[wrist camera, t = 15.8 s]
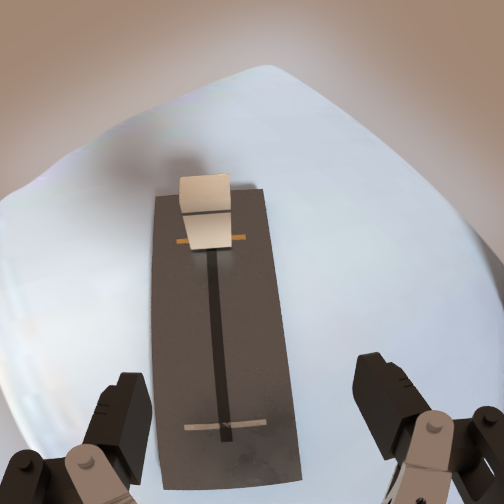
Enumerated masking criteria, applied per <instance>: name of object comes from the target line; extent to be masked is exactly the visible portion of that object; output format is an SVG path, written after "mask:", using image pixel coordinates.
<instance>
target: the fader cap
mask: <svg viewBox="0 0 504 504" xmlns="http://www.w3.org/2000/svg"><path fill="white" fill-rule="evenodd" d="M179 203H180V207H181V211H182V216H183V220H184V224H185V228H186V232H187V236H188V240H189V244H190V248H191V250H193V249H206V248H220V247H232V245H231V197H230V185H229V174H214V175H201V176H188V177H180V190H179Z"/></svg>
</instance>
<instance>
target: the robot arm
mask: <svg viewBox="0 0 504 504" xmlns="http://www.w3.org/2000/svg"><path fill="white" fill-rule="evenodd" d="M352 390H353V397H354V400H355V402H356V404H357V406H358V408H359V410H360V412H361V414H362V416H363V418H364V420H365V422H366V424H367V426H368V428H369V430H370V432H371V434H372V436H373V438H374V440H375V442H376V444H377V446H378V448H379V450H380V452H381V454H382V456H383V458H384V460H388V459H392V458H396V460H397V465H396V467H395V470H394V472H393V475H392V478H391V481H390V483H389V486H388V489H387V491H386V494H385V497H384V499H383V502H382V504H446V501H447V497H448V492H449V487H450V482H451V478H452V480H453V482H454V484H455V486H456V488H457V490H458V492H459V494H460V496H461V498H462V500H463V502H464V504H504V414H503V413H502V412H501V411H500V410H499V409H497V408H495V407H491V406H483V407H480V408H478V409H477V410H476V411H475V413H474V415H473V417H472V418H468V419H457V420H452V419H451V417H450V416H448V415H447V414H446V413H444V412H441V411H437V410H432V409H431V408H430V407H429V405H428V404H427V402H426V401H425V400H424V398H423V397H422V396H421V394H420V393H419V391H418V390H417V389H416V387H415V386H413V383H412V382H411V381H410V379H408V377H407V375H406V374H405V372H404V371H403V370H402V369H401V368H400V367H398V366H397V365H395V364H394V363H392V362H389V363H386V361H385V360H384V359H383V357H382V356H381V354H380V353H379V352H374V353H369V354H363V355H359V356H358V358H357V363H356V369H355V375H354V380H353V386H352ZM151 420H152V404H151V400H150V397H149V394H148V390H147V387H146V384H145V380H144V377H143V374H142V373H127V372H122V373H121V374H120V377H119V380H118V382H117V385H109V386H108V387H107V388H106V389H105V390H104V391H103V392H102V393H101V395H100V398H99V400H98V403H97V406H96V408H95V411H94V414H93V416H92V418H91V421H90V424H89V426H88V429H87V432H86V435H85V437H84V440H83V443H82V445H78V446H76V447H74V448H72V449H71V450H70V451H69V452H68V453H67V455H66V457H63V458H55V459H44V460H43V458H42V457H41V456H40V454H39V453H37V452H36V451H34V450H21V451H19V452H17V453H16V454H14V455H13V456H12V458H11V459H10V461H9V464H8V466H7V469H6V471H5V474H4V476H3V479H2V482H1V484H0V504H137V503H136V501H135V500H134V499H133V497H132V496H131V495H130V493H129V488H130V484H133V485H140V483H141V477H142V471H143V465H144V459H145V453H146V447H147V441H148V436H149V431H150V425H151ZM484 458H485V459H486V461H487V462H488V464H489V466H490V467H491V469H492V470H493V472H494V475H493V474H492V472H491V470H490V469H489V467H488V465H487V464H486V462H485V461H484ZM494 476H495V477H494Z"/></svg>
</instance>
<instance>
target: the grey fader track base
mask: <svg viewBox="0 0 504 504" xmlns="http://www.w3.org/2000/svg"><path fill="white" fill-rule="evenodd" d="M230 197H231V245H232V247H220V248H206V249H193V250H191V248H190V244H189V240H188V236H187V232H186V228H185V224H184V220H183V216H182V211H181V207H180V203H179V195H171V196H160V197H156V202H155V216H154V233H153V256H152V362H153V384H154V401H155V415H156V427H157V438H158V448H159V457H160V466H161V474H162V481H163V489H164V490H215V489H233V488H245V487H256V486H265V485H273V484H280V483H287V482H294V481H300V480H302V473H301V464H300V455H299V447H298V438H297V430H296V422H295V414H294V406H293V398H292V390H291V382H290V374H289V367H288V359H287V352H286V344H285V337H284V329H283V322H282V315H281V308H280V301H279V294H278V287H277V280H276V273H275V266H274V259H273V252H272V246H271V239H270V232H269V226H268V219H267V213H266V206H265V200H264V193H263V189H254V190H237V191H230Z"/></svg>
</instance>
